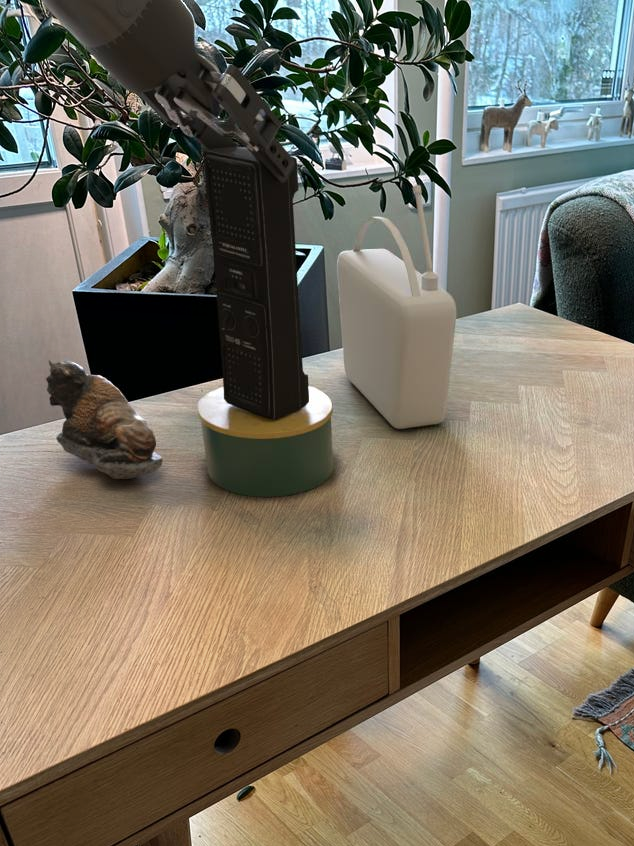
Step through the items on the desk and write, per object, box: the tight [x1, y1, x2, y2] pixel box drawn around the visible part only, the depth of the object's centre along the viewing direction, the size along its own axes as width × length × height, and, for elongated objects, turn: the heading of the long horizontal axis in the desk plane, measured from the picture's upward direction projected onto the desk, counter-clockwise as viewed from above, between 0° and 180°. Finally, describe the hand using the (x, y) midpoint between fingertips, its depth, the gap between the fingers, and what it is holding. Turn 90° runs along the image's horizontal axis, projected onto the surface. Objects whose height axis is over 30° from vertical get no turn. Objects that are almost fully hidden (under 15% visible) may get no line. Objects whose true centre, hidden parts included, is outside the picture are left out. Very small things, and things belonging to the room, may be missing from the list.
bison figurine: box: [45, 359, 164, 480], centre depth 88 cm, size 12×7×10 cm, turn 59°
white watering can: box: [336, 184, 457, 430], centre depth 102 cm, size 22×8×25 cm, turn 26°
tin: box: [196, 385, 334, 498], centre depth 91 cm, size 13×13×7 cm
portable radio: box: [202, 132, 310, 420], centre depth 82 cm, size 8×6×25 cm
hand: (258, 165), depth 77 cm, fingers closed on portable radio, 7 cm apart
